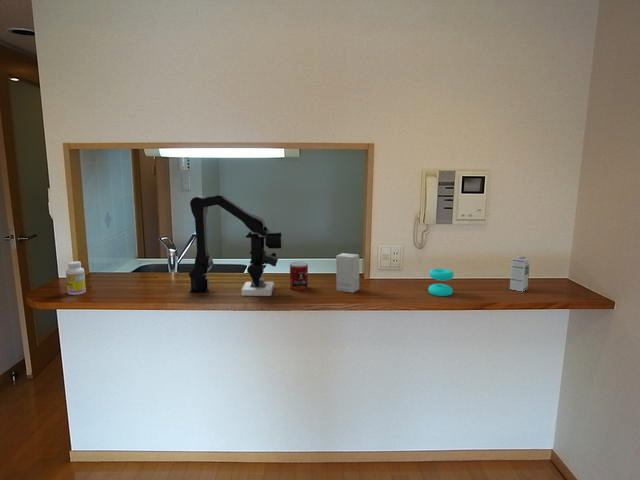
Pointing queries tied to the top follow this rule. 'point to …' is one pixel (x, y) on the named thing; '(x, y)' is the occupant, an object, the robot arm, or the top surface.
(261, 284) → the plug
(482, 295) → the top surface
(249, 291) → the socket plate
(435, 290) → the donuts
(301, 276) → the canned food
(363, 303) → the top surface
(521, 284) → the syrup box
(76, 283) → the supplement bottle
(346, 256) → the skincare box
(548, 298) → the top surface
